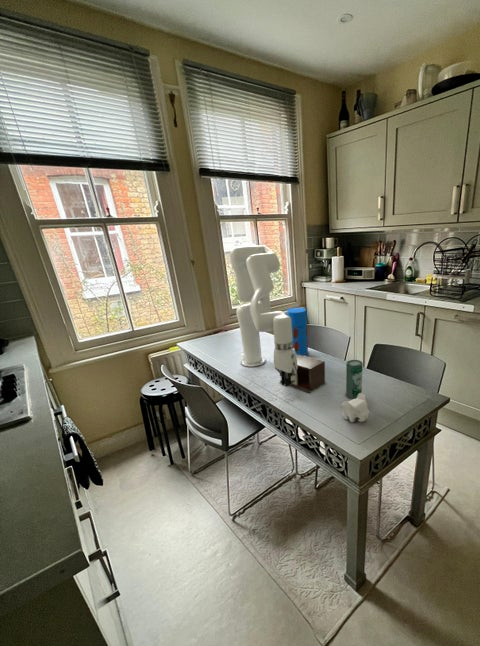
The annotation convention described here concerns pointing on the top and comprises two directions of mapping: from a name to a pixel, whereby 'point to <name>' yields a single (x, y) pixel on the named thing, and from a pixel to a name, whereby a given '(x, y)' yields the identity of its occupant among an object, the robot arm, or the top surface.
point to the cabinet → (309, 373)
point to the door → (293, 379)
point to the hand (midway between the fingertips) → (286, 384)
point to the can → (353, 378)
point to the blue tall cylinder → (299, 330)
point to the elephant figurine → (356, 409)
